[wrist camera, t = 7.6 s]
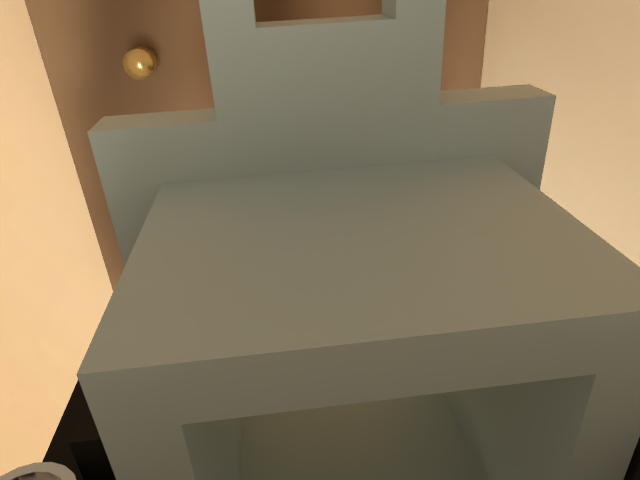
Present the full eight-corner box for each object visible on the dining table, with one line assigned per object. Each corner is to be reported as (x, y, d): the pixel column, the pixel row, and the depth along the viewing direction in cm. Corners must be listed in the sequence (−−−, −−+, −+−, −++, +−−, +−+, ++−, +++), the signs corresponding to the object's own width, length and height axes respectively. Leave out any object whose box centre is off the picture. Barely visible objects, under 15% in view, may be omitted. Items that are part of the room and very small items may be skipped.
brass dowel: (155, 44, 22) (149, 48, 21) (161, 72, 23) (155, 78, 21) (128, 46, 22) (119, 50, 21) (134, 74, 23) (126, 80, 21)
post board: (481, -109, 22) (555, -137, 17) (452, 244, 31) (495, 305, 25) (19, -83, 21) (-72, -104, 15) (123, 276, 30) (89, 348, 24)
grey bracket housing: (483, 388, 13) (617, 634, 8) (183, 425, 13) (136, 714, 8) (576, -233, 7) (1238, -657, 2) (17, -219, 7) (-638, -739, 2)
